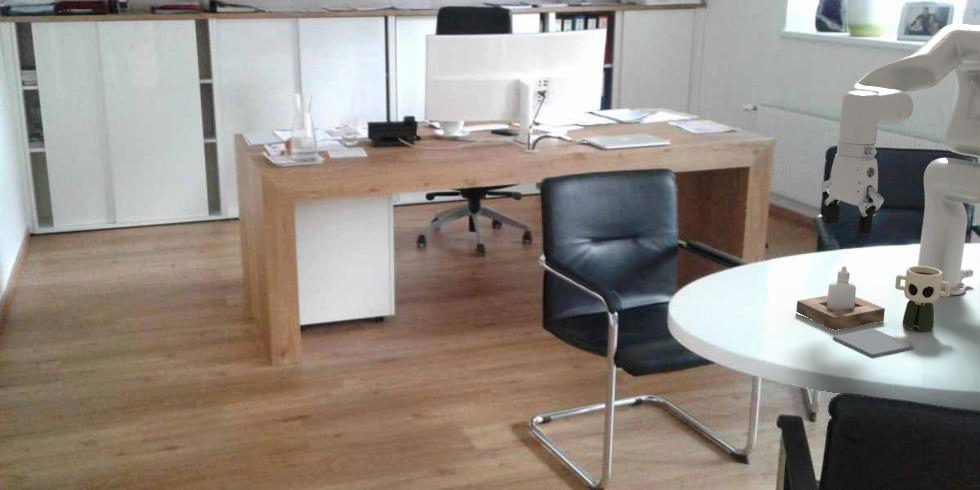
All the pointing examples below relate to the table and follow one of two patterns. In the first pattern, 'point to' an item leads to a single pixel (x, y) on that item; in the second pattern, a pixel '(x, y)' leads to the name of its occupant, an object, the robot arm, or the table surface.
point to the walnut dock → (840, 313)
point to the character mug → (921, 295)
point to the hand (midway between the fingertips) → (847, 228)
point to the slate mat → (872, 342)
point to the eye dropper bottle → (841, 292)
